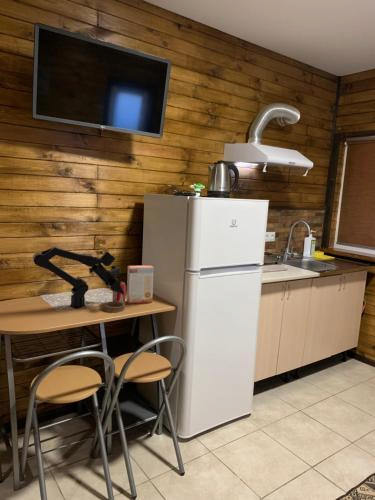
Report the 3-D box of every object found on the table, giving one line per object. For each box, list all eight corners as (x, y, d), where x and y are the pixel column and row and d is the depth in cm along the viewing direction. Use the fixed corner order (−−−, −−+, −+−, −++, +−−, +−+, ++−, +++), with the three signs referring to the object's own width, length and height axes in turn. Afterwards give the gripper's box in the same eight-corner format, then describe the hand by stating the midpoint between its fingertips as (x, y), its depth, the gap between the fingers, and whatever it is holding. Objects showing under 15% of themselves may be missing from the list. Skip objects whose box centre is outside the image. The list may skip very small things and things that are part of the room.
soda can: (109, 303, 214) (110, 282, 212) (118, 301, 220) (119, 280, 218) (118, 306, 210) (119, 284, 208) (127, 303, 216) (128, 282, 214)
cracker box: (149, 299, 226) (151, 265, 223) (152, 302, 221) (154, 267, 218) (126, 300, 221) (127, 265, 218) (128, 303, 216) (129, 267, 213)
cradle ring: (113, 313, 197) (113, 308, 197) (99, 308, 204) (99, 303, 203) (128, 309, 206) (129, 304, 205) (115, 304, 212) (115, 300, 212)
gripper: (117, 265, 201) (136, 284, 208) (108, 259, 218) (126, 277, 224) (102, 280, 199) (122, 300, 205) (94, 273, 215) (112, 291, 222)
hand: (121, 291), depth 214 cm, fingers open, 9 cm apart
